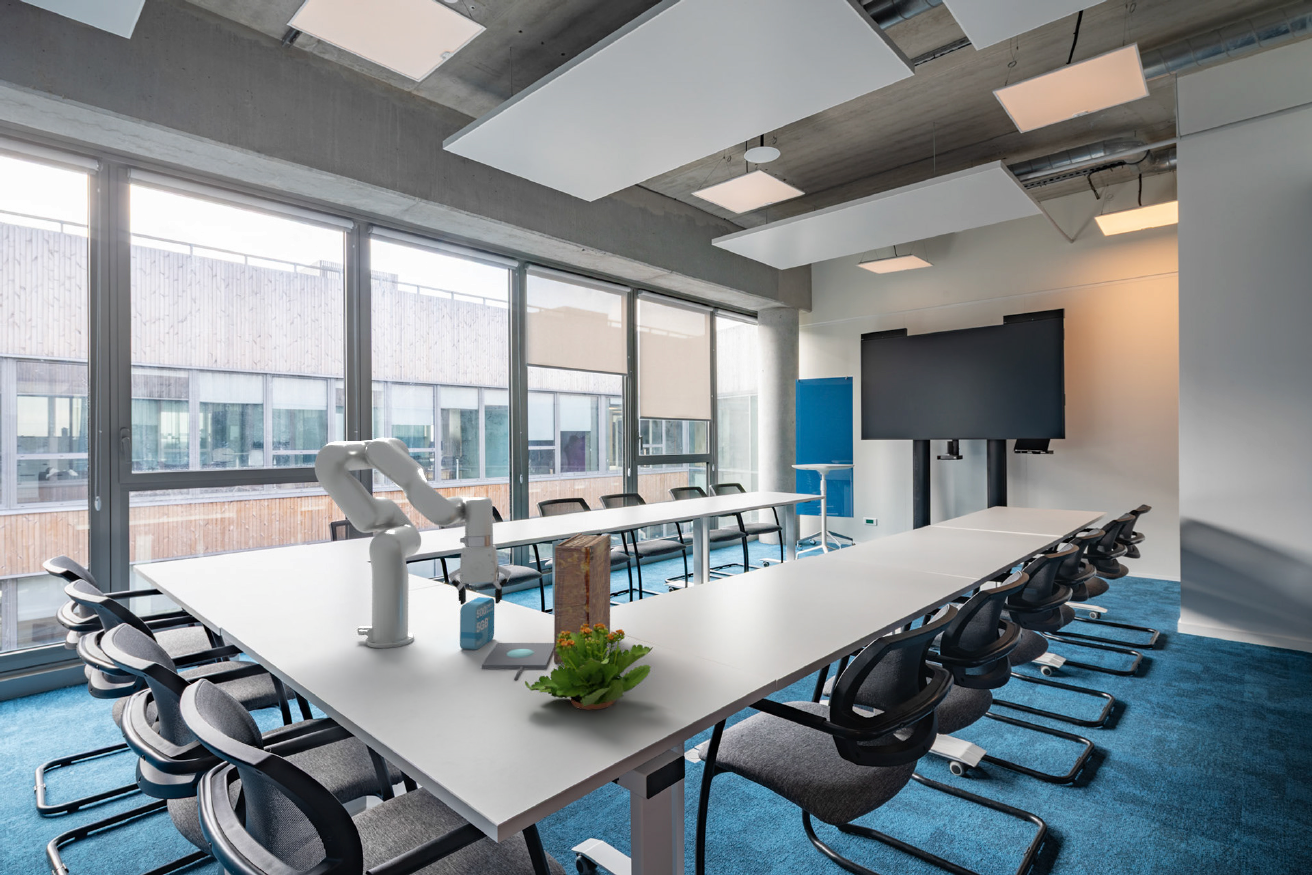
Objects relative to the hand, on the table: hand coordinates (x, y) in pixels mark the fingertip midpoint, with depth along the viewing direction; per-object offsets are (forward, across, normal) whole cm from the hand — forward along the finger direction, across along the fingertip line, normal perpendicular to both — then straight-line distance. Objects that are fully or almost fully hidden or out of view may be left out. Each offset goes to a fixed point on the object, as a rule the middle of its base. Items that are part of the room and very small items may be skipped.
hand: (480, 602), depth 184 cm
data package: (+12, -1, 0) cm, 12 cm away
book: (+13, +29, -4) cm, 32 cm away
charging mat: (+12, +13, -15) cm, 23 cm away
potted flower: (+13, +35, -40) cm, 55 cm away
